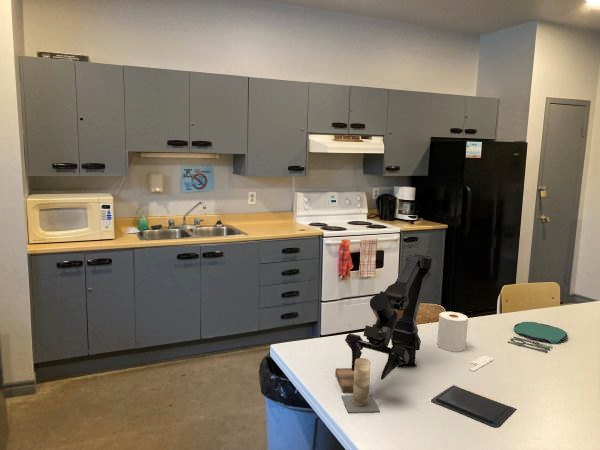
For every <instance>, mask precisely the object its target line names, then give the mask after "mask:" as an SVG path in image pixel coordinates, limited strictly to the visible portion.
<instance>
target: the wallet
mask: <svg viewBox="0 0 600 450" xmlns="http://www.w3.org/2000/svg"><path fill="white" fill-rule="evenodd" d="M430 402H431V403H433V404H434V405H438V406H440V407H443V408H445V409H447V410H449V411H453V412H455V413H457V414H459V415H462V416H464V417H466V418H468V419H472V420H473V421H476V422H478V423H481V424H484V425H485V426H488V427H491V428H494V429H498V428H499V429H500V427H502V425H504V424H505V422H507V420H508V419H509V418H510V417H511V416H512V415H513V414H514V413H515V412H516V411H517V410H518V409H517V408H516V407H514V406H510V405H508V404H506V403H504V402H501V401H498V400H495V399H493V398H489V397H487V396H484V395H483V394H479V393H476V392H474V391H471V390H468V389H466V388H463V387H461V386H457V385H455V384H453V385H452V386H449V387H448V388H446V389H444V390H443V391H442V392H440V393H438V394H437V395H436V396H434V397H433V398H432V399H431V400H430Z"/></svg>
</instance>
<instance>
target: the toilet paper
mask: <svg viewBox="0 0 600 450" xmlns="http://www.w3.org/2000/svg"><path fill="white" fill-rule="evenodd" d="M437 325H438V326H437V327H438V328H437V338H436V340H437V341H436V345H437V347H438V348H440V349H441V350H444V351H448V352H453V353H457V352H464V351H465V350H466V349H467V337H468V326H469V317H468V316H467V315H465V314H463V313H461V312H454V311H442V312H440V313H439V314H438V324H437Z"/></svg>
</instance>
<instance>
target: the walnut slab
mask: <svg viewBox="0 0 600 450" xmlns="http://www.w3.org/2000/svg"><path fill="white" fill-rule="evenodd" d="M334 374H335V376H336V380H337V382H338V384H339V387H340V389H341V391H342V393H346V394H347V393H353V387H354V371H352V367H349V368H347V367H346V368H345V367H344V368H343V367H342V368H341V367H340V368H338V367H337V368H336V367H335V373H334Z"/></svg>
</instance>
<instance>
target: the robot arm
mask: <svg viewBox="0 0 600 450" xmlns="http://www.w3.org/2000/svg"><path fill="white" fill-rule="evenodd" d="M436 267H437V260H436V259H435V258H434V256H432V255H428V254H421V253H414V254H409V255H407V256H406V259H405V263H404V265H403V267H402V269H401V271H400V273H399V275H398V276H397V279H396V280H395V282H394V283H392V284H390V285H388V287H387V288H386V289H385V290H384V291H382V290H381V291H380V292H379V293H377V294H375V295H374V296H372V297H371V298H370V300H369V307H370V308H371V310H372V312H373V314H374V316H375V317H376V318H377V319H376V321H375V323H373V324H372V325H371V326H370V325H366V324H365V326H364V331H363V334H362V335H363V337H365V338H366V340H367V341H366V340H363V338H362V337H361V335H359V334H354V333H348V334H347V335H346V337H345V339H344V341H345V342H346V345H347V346H348V347H349V348H350V350H351V368H352V371H354V370H355V360H356V359H358V358H361V356H362V354H363V352H362V351H363V348H365V349H367V350H371V351H375V352H378V353H383V354H385V355H388V356H387V361H386V364H385V365H384V368H383V370H382V372H381V376H380V380H381V381H382V380H384V379H385V378H386V377H387V376H388V375H389V374H390V373H391V372H392V371H393V370H395V368H396V369H397V367H398V368H417V363H416V353H417V351H420V350H421V346H422V345H421V343H422V341H421V337H420V336H419V328H418V325H417V321H416V320H417V317H418V312H419V309H420V305H421V301H422V297H423V292H424V288H425V285H426V282H427V280H428V279H430V278H431V276H432V275H433V273H434V271H435V269H436ZM393 309H395V310H400V311H403V310H404V311H403V315H402V317H401V318H400V319H399V318H398V315H397V313H396V311H394V310H393ZM390 341H391V347H389V344H390Z"/></svg>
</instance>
